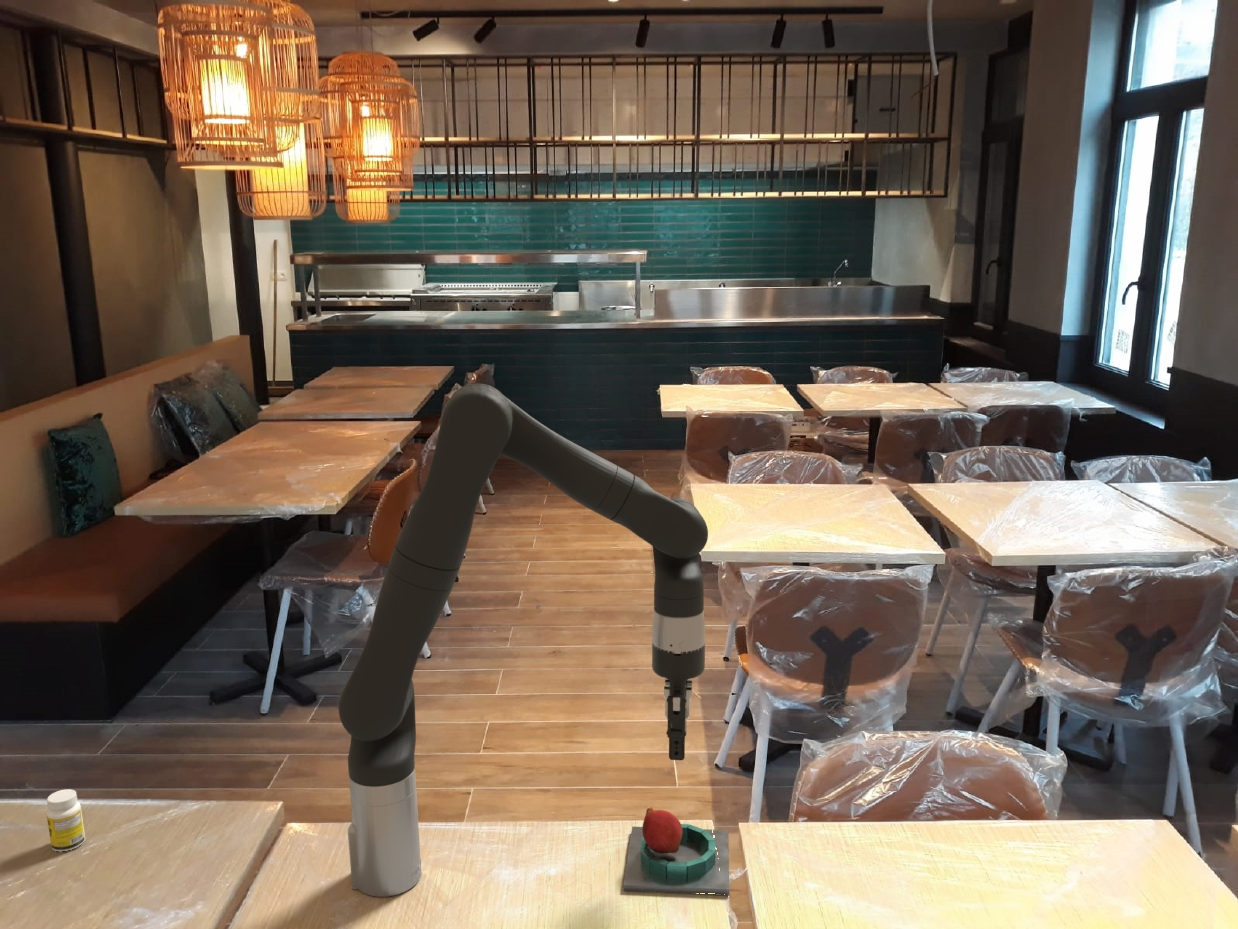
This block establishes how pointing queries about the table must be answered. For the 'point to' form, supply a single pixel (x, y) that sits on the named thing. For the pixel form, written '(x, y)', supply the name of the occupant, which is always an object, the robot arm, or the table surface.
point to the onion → (662, 831)
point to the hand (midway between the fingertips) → (677, 744)
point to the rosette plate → (680, 864)
